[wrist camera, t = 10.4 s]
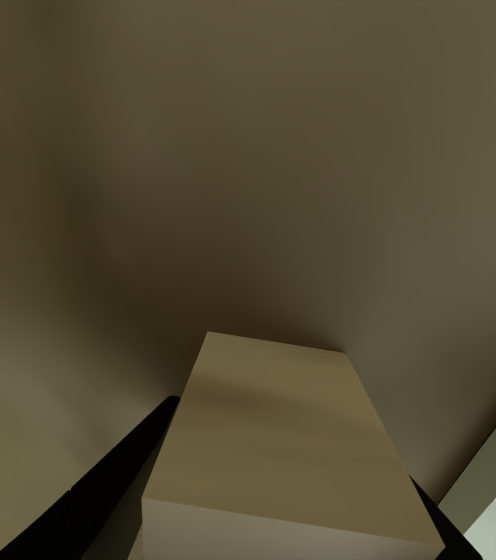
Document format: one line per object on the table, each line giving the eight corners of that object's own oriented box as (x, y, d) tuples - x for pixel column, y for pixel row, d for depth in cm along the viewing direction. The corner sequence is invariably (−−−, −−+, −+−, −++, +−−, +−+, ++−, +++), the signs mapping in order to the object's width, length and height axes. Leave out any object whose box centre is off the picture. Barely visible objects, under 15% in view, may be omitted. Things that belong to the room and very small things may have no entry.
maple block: (312, 445, 10) (353, 657, 6) (199, 427, 10) (145, 623, 6) (345, 351, 8) (445, 546, 4) (208, 330, 9) (141, 497, 4)
